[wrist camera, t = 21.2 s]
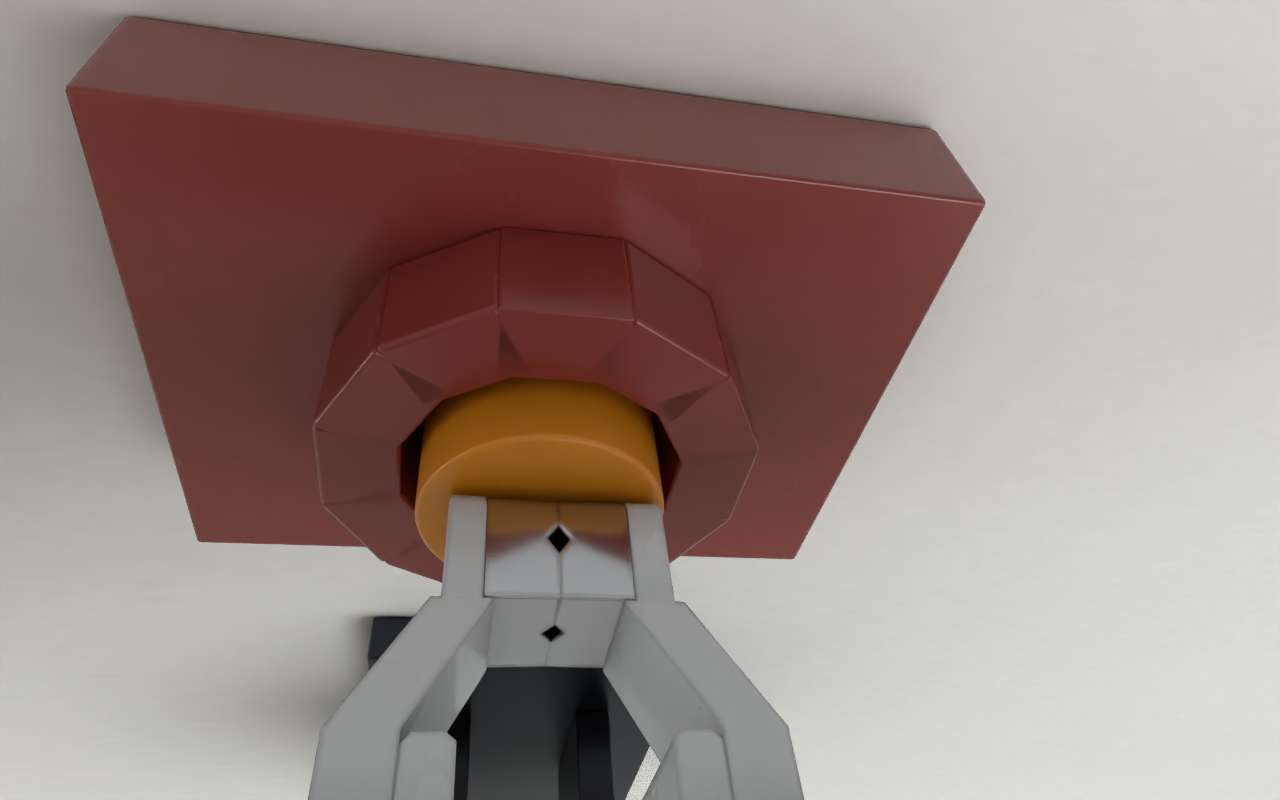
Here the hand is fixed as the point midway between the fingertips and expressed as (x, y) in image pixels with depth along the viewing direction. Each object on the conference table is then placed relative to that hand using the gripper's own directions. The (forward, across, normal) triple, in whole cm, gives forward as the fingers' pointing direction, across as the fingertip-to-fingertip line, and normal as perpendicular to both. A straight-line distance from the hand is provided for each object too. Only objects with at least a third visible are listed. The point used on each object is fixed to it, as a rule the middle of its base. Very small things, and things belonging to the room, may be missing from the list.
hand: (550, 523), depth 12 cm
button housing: (+5, 0, 0) cm, 5 cm away
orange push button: (+2, 0, 0) cm, 2 cm away
